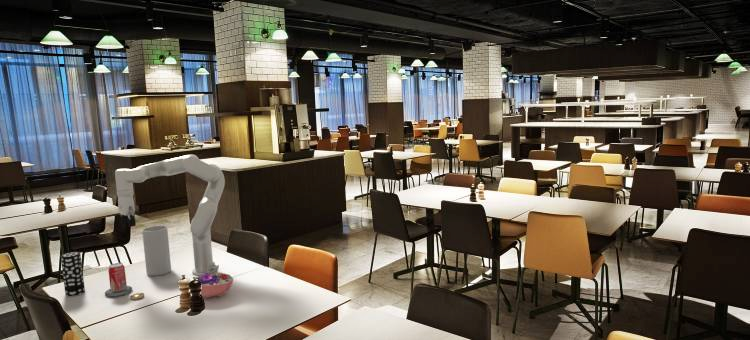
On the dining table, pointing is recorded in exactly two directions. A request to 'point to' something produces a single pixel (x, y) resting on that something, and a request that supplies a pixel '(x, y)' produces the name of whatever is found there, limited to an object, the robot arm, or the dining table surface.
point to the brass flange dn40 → (137, 296)
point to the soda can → (117, 277)
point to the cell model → (215, 284)
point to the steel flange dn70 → (118, 294)
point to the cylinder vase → (156, 250)
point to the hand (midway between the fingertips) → (128, 224)
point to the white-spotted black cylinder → (72, 273)
